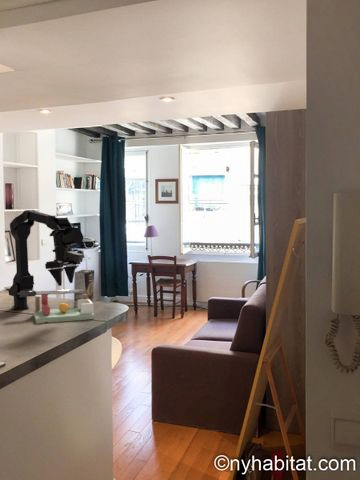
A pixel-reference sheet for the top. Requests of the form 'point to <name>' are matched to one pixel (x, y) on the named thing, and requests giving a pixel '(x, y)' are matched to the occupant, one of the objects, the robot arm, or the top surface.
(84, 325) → the top surface
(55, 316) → the foosball frame
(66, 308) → the ball
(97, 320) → the top surface
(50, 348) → the top surface
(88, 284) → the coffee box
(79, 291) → the rod
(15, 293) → the robot arm
